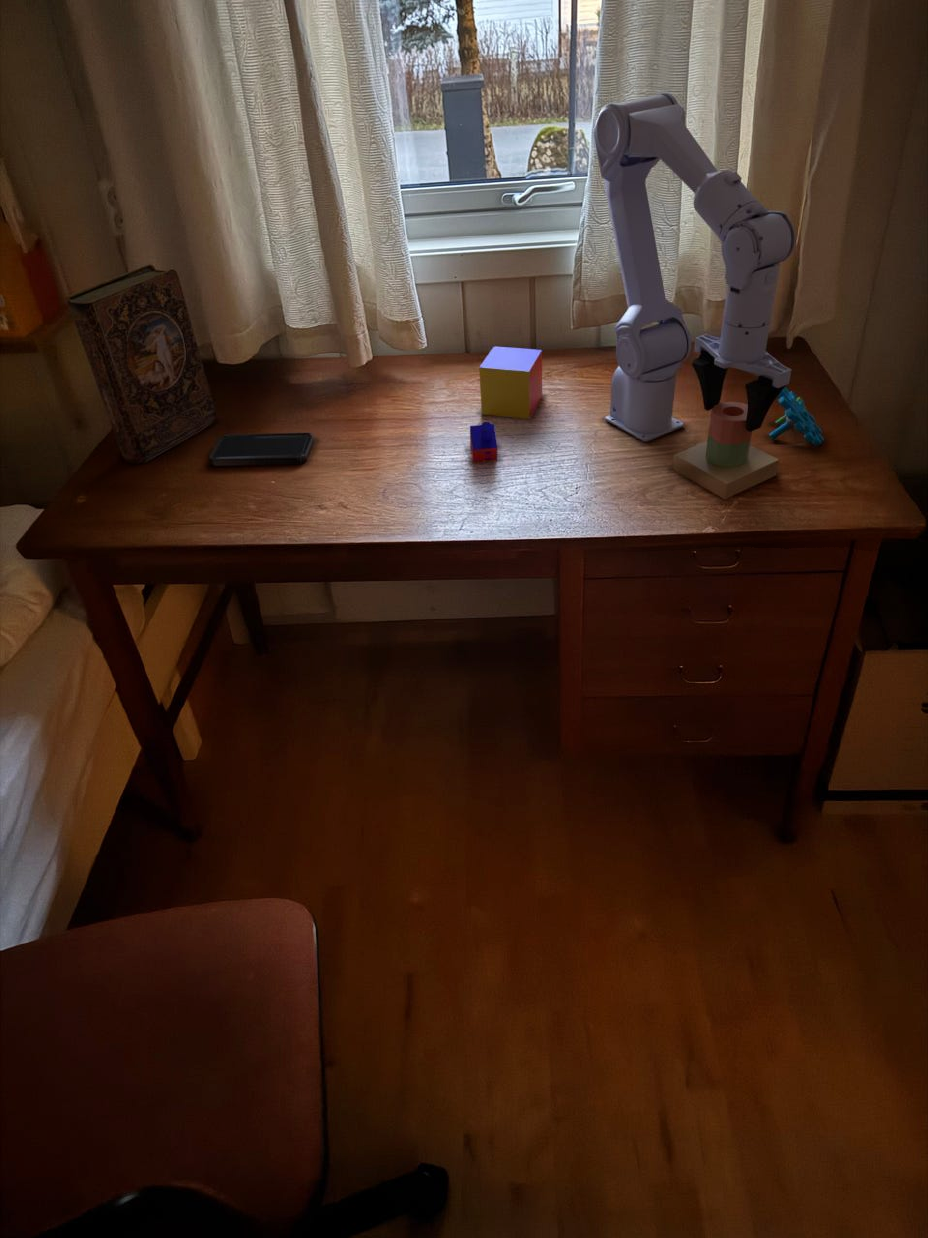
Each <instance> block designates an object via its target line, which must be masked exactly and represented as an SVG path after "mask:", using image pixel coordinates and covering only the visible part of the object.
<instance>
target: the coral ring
mask: <svg viewBox="0 0 928 1238" xmlns="http://www.w3.org/2000/svg"><path fill="white" fill-rule="evenodd" d="M710 411H711V412H710V420H709V425H708V426H709V428H708V434H709V435H710V437H711V439H713V440H715V441H717V442H719V443H724V444H729V445H733V444H742V443H744V442H747V441H749V439H750V438H751V439H752V435H753V431H752V432H749V431H747V430H746V419H747V411H748V404H746V403H743V402H738V401H725V402H720V403H719V404H717V405H715V406H714V407H713V409H711V410H710Z"/></svg>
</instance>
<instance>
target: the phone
mask: <svg viewBox="0 0 928 1238" xmlns="http://www.w3.org/2000/svg"><path fill="white" fill-rule="evenodd" d="M314 443H315V440H314V435H313V433H311V432H280V433H279V432H276V433H240V434H239V433H238V434H237V433H236V434H224V435H221V436H220V437H219V438H218V440H217V442H216V444H215V445H214V447H213V449H212V450H211V452H210V454H209V456H208V458H209V461H210V462H209V463H210V464H211V466H213V467H214V466H215V467H222V466H223V467H226V466H227V467H229V466H274V465H275V466H277V465H280V466H281V465H301V464H304V463H305V462H306V461H307V460H308V458H309V455H310V452H311V451H312V447H313V445H314Z"/></svg>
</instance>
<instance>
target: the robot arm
mask: <svg viewBox="0 0 928 1238" xmlns="http://www.w3.org/2000/svg"><path fill="white" fill-rule="evenodd" d="M592 136H593V142H594V147H595V151H596V156H597V162H598V167H599V172H600V178H602V179H603V184H604V189H605V195H606V200H607V205H608V211H609V215H610V216H609V217H610V220H611V226H612V232H613V237H614V242H615V247H616V252H617V253H616V254H617V257H618V263H619V267H620V268H619V269H620V274H621V277H622V283H623V288H624V289H623V290H624V292H625V293H624V294H625V299H626V304H627V310H626V312H625V313H624V314H623V315H622V317H621V318H620V320H619V321H618V322H617V323H616V325H615V326H614V331H615V337H616V345H615V358H616V359H615V360H616V362H617V364H618V366H617V368H616V369H615V370H614V372H613V375H612V378H611V382H610V397H609V398H610V399H609V401H610V402H609V403H610V404H609V414H608V415H606V416H605V418H604V420H605V421H606V422H608V423H610V424H612V425H614V426H615V427H617V428H618V429H620V430H622V431H624V432H626V433H628V434H630V435H631V436H633V437H635V438H637V439H638V440H640V441H642V442H645V443H647V442H649V441H652V440H655V439H657V438H659V437H662V436H664V435H666V434H669V433H672V432H674V431H676V430H679V429H681V428H683V427H684V425H685V424H684V422H683V421H680V420H679V419H677V418H674V416H673V411H674V401H675V391H676V380H677V373H678V371H680V370H681V369H682V363H683V362H684V361H686V360H687V359H688V358H689V357H690V354H691V351H692V336H691V333H690V330H689V328H688V326H687V325H686V322H685V320H684V315H683V310H682V309H681V308H680V307H679V306H678V305H676V304H674V303H672V302H671V301H669V300H668V299H667V298H666V292H665V287H664V281H663V276H662V270H661V265H660V264H661V263H660V259H659V254H658V248H657V242H656V235H655V232H654V231H655V230H654V225H653V220H652V219H653V218H652V214H651V209H650V207H651V206H650V202H649V197H648V192H647V191H648V190H647V185H646V181H647V178H648V176H649V175H650V172H651V170H652V168H654V167H655V166H656V165H658V163H659V162H660V161H661V162H663V164H665V165H666V167H668V168H669V169H670V170H671V172H673V174H675V175H676V176H677V177H678V178H679V180H681V181H682V182H683V184H685V185H686V186H687V187H688V188H689V189H690V190H691V191H692V193H694V198H693V208H694V210H695V212H696V213H697V214H698V216H699V217H701V219H702V220H703V222H705V224H706V225H707V227H709V228H710V230H711V231H712V232H713V234H715V235H716V237H717V238H718V239H719V240H720V242H721V247H720V248H721V256H722V260H723V264H724V266H725V275H724V279H725V283H726V284H727V287H726V295H725V303H724V304H725V305H724V310H723V316H722V318H723V319H722V324H721V332H720V337H717V336H714V335H710V334H707V333H704V334H702V335H699V336H696V337H695V341H694V348H693V351H694V353H697V354H699V355H698V357H696V358H693V360H692V363H691V366H692V368H693V370H694V372H695V374H696V376H697V379H698V381H699V386H700V390H701V396H702V402H703V409H704V411H707V412H709V411H712V409H713V407H714V406H715V405H717V404H720V403H721V400H722V394H723V388H724V383H725V378H726V375H727V373H728V369H729V368H732V369H737V370H740V371H744V372H747V373H749V374H751V375H753V376H756V377H757V379H755V380H752V381H751V382H748V383H746V384H745V385H744V388H745V392H746V398H747V405H748V411H747V419H746V430H747V431H749V432H752V433H753V431H756V430H759V429H760V428H762V425H763V422H764V420H765V418H766V416H767V414H768V413H769V411H770V408H771V407H772V405H773V403H774V402H775V400H776V399H777V398H778V397H779V396H778V395H779V394H780V392H781V391H782V390H783V389H784V388H785V387H786V388H787V386H788V385H789V384H790V380H791V374H792V368H790V367H787V366H786V365H784V364H782V363H781V362H780V361H779V360H778V359H776V358H775V357H774V356H773V355H771V354H770V353H769V352H768V351H766V350H767V344H768V339H769V333H770V328H771V321H772V314H773V309H774V304H775V299H776V298H775V297H776V293H777V292H776V291H777V286H778V281H779V274H780V270H781V269H780V268H781V264H780V263H783V262H784V261H786V260H788V259H789V258H790V256H791V255H792V253H793V251H794V249H795V244H796V231H795V227H794V224H793V223H792V221H791V219H790V218H789V216H788V214H787V213H786V212H784V211H782V210H771V209H770V208H769V207H764V205H763V204H762V203H761V202H760V201H759V200H758V198H756V197H755V195H754V194H753V193H752V192H751V191H750V189H748V188H747V187H746V185H745V184H744V183H743V182H742V176H740V174H739V173H738V172H737V171H732V170H730V169H729V170H728V169H723V170H719V171H718V169H717V168H716V167H715V165H714V164H713V162H712V161H711V159H710V158H709V157H708V154H706V152H705V150H704V149H703V148H702V147H701V145H700V144H699V143H698V141H697V140H696V138H695V137H694V135H693V134H692V132H691V130H689V129H688V127H687V126H686V112H685V108H684V107H683V106H681V104H679V103H678V101H677V99H676V98H675V96H673V94H671V93H669V92H666V91H665V92H660V93H658V94H656V95H651V96H645V97H641V98H636V99H635V98H634V99H630V100H626V101H621V102H609V103H606V104H605V105H604V106H603V107H602V108H601V110H600V112H599V114H598V116H597V119H596V122H595V125H594V127H593V131H592ZM654 323H657V324H654ZM651 324H654V325H651ZM648 325H650V326H648ZM646 326H648V327H646Z"/></svg>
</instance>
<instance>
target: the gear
mask: <svg viewBox="0 0 928 1238" xmlns="http://www.w3.org/2000/svg"><path fill="white" fill-rule="evenodd" d="M777 397H778V398H779V399H778V403H779V405H780V406H781V407H782V408H783V409H784V410H785V411H784V415H783V416H781V417H780V418H778V419H777V420H776V421H775V424H776V425H777V426H779V425H780V426H779V427H777V428H776V429H774V430H773V431H771V432H770V433H769V434H768V435H769V438H770V439H771V440H773V441H774V440H775V439H777V438H778V437H780V436H781V435H782V434H784V433H786V432H787V431H789V429H790V428H791V429H796V431H797V432H798V433H799V434H800V433H802V432H803V433H804V435H803V437H804V439H805V440H806V442H808V443H809V444H810V443H812V444H813V446H815V447H819V446H821V445H822V442H824V441H825V438H824V436H822V434H821V433H822V430H821V429H822V428H821V427H820V426H818V425H817V423H815V422H816V419H815V417H814V415H813V414H812V413H809V411H808V409H807V407H806V405H805V401H804V400H803V397H801V396H798V397H797V395H796V394H795V393H794V392H793V391H792V390H791V391H789V389H788V387H787V386H786V387H785V388H784V389H783V390H782V391H781V392H780V394H779V395H778V396H777Z"/></svg>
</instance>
